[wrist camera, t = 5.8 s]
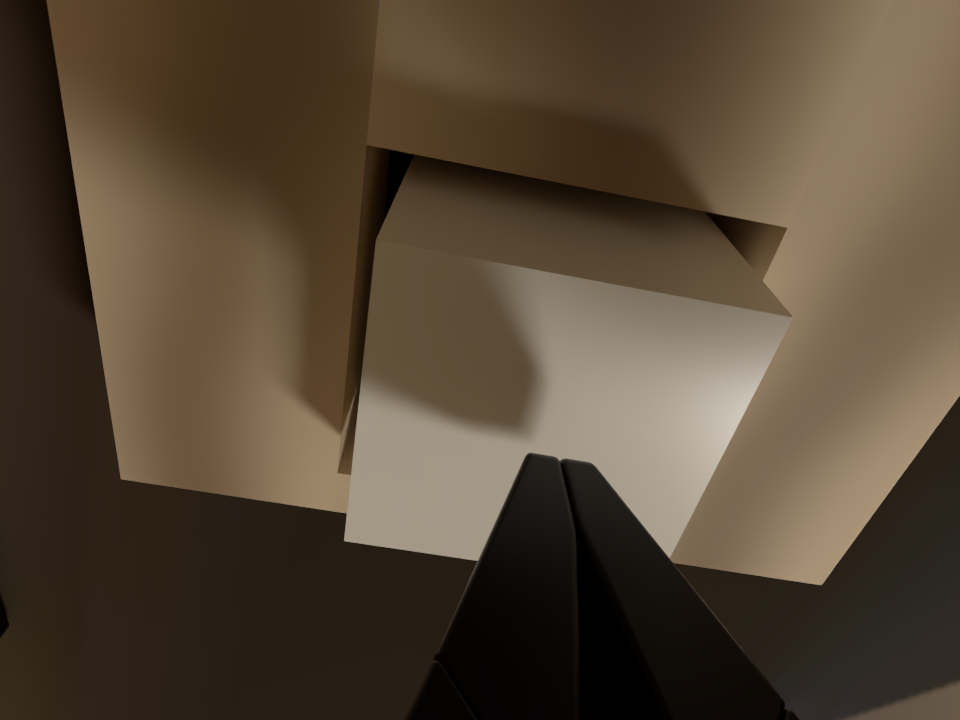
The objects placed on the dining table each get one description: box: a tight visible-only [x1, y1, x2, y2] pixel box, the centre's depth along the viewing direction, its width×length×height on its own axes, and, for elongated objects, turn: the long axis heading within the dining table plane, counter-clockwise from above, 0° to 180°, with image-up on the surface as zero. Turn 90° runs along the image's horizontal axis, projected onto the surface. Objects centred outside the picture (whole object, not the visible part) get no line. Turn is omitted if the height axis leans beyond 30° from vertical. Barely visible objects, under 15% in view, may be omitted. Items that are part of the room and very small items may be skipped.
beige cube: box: [344, 154, 793, 561], centre depth 11 cm, size 5×5×5 cm
